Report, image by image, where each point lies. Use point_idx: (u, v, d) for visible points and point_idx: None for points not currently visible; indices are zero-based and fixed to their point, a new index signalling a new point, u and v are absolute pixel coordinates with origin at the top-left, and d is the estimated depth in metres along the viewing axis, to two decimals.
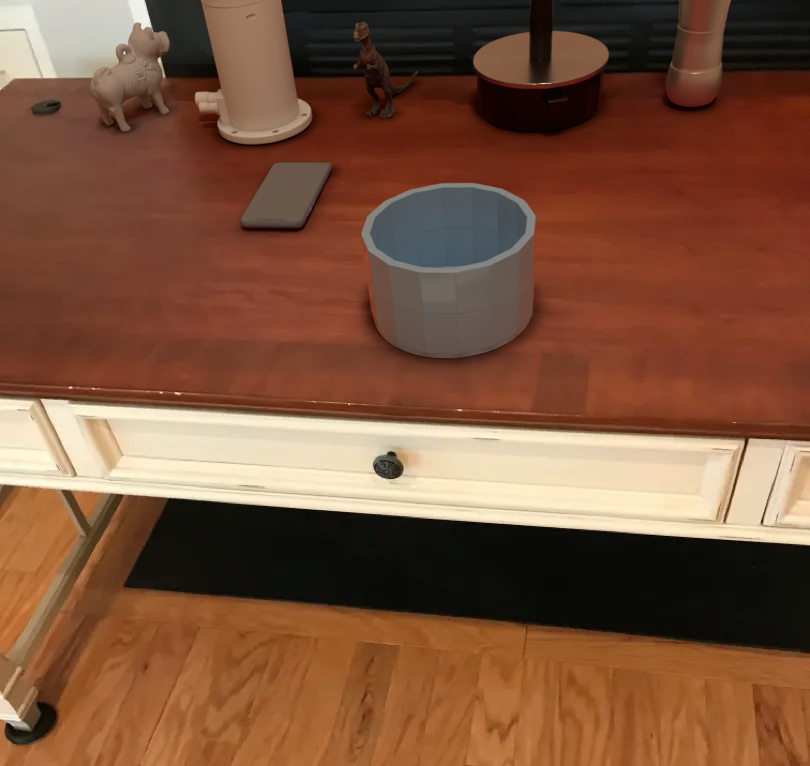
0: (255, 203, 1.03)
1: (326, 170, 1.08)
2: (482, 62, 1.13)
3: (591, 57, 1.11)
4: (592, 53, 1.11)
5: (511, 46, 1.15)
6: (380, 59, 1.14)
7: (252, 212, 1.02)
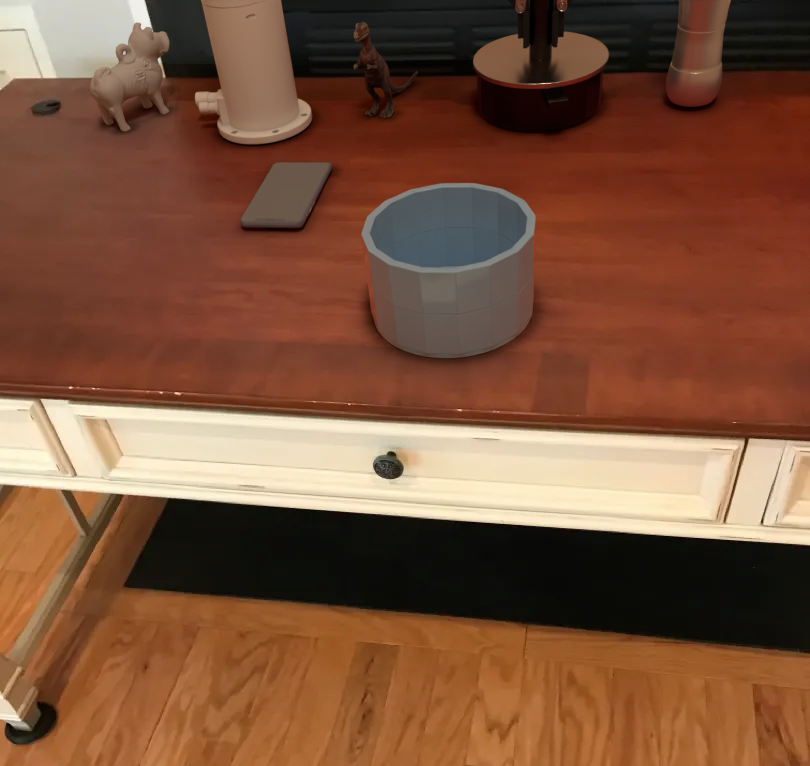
0: (255, 203, 1.03)
1: (326, 170, 1.08)
2: (482, 62, 1.13)
3: (591, 57, 1.11)
4: (592, 53, 1.11)
5: (511, 46, 1.15)
6: (380, 59, 1.14)
7: (252, 212, 1.02)
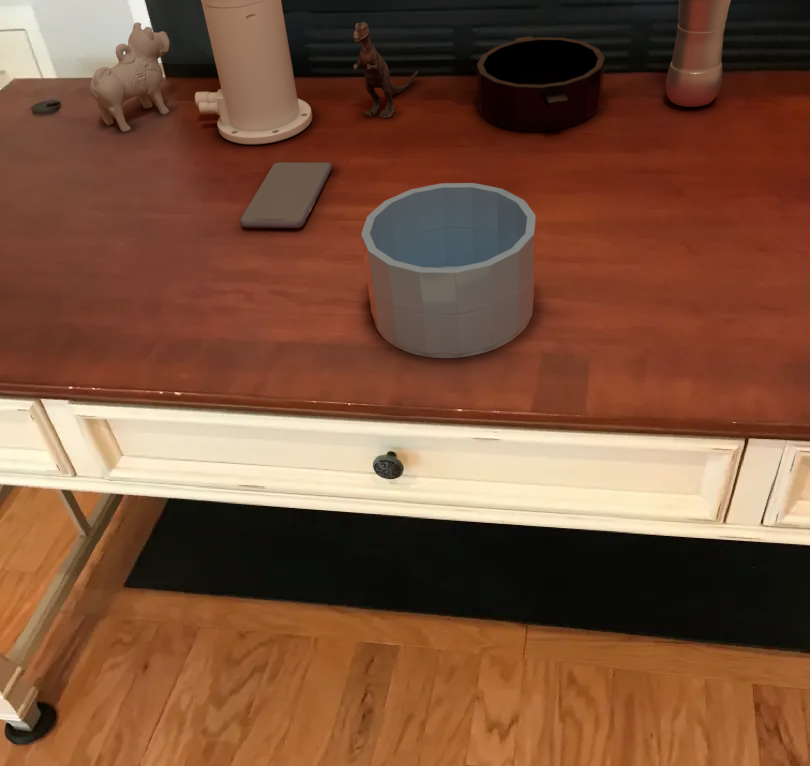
0: (255, 203, 1.03)
1: (326, 170, 1.08)
2: None
3: None
4: None
5: None
6: (380, 59, 1.14)
7: (252, 212, 1.02)
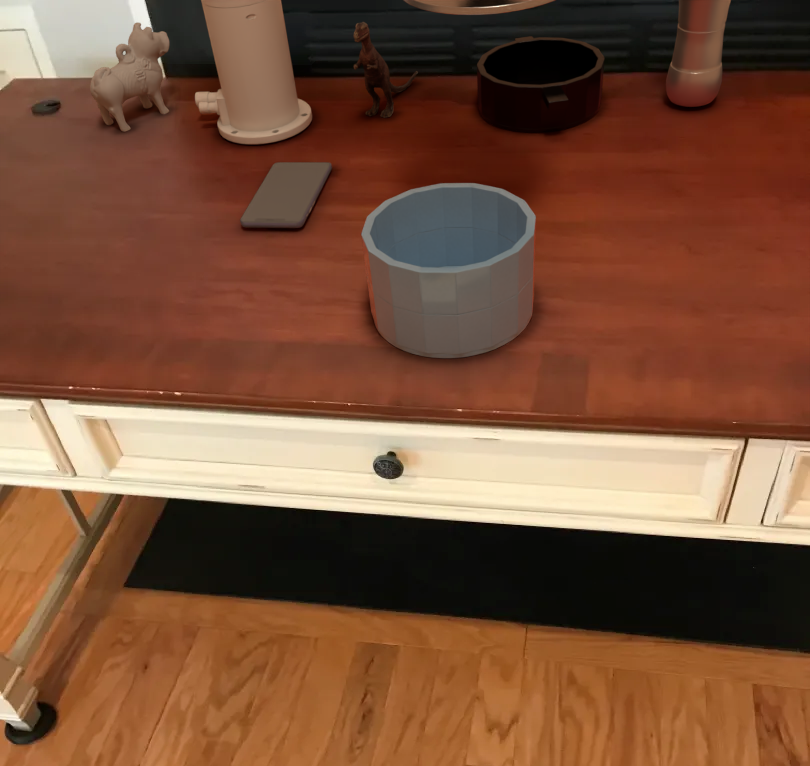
0: (255, 203, 1.03)
1: (326, 170, 1.08)
2: None
3: None
4: None
5: None
6: (380, 59, 1.14)
7: (252, 212, 1.02)
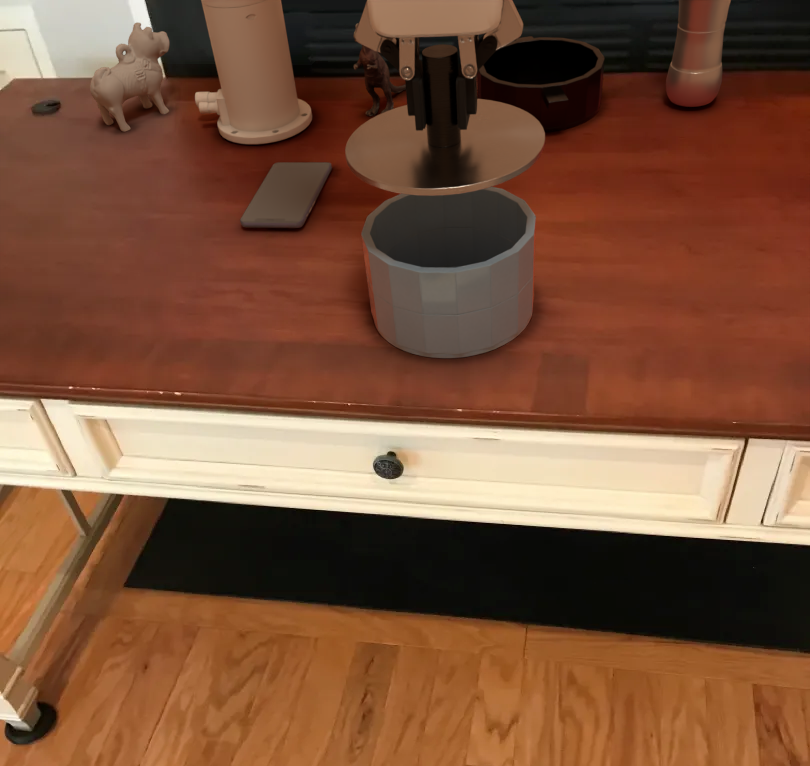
0: (255, 203, 1.03)
1: (326, 170, 1.08)
2: (358, 149, 0.76)
3: (518, 143, 0.74)
4: (521, 137, 0.75)
5: (404, 122, 0.78)
6: (380, 59, 1.14)
7: (252, 212, 1.02)
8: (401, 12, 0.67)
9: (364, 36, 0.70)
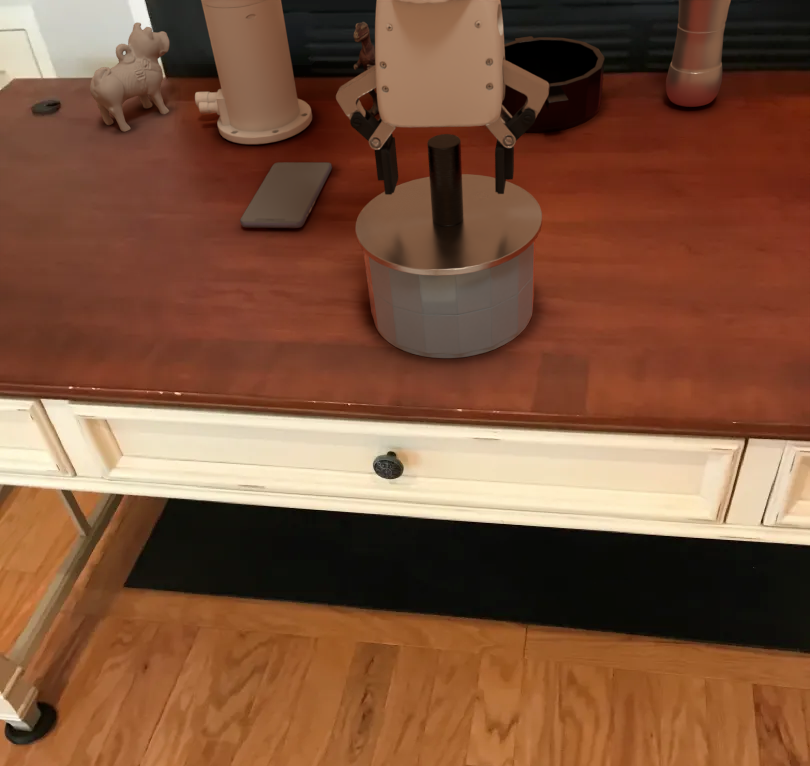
0: (255, 203, 1.03)
1: (326, 170, 1.08)
2: (367, 227, 0.81)
3: (517, 223, 0.79)
4: (520, 217, 0.80)
5: (411, 199, 0.84)
6: None
7: (252, 212, 1.02)
8: (408, 106, 0.72)
9: (344, 98, 0.74)
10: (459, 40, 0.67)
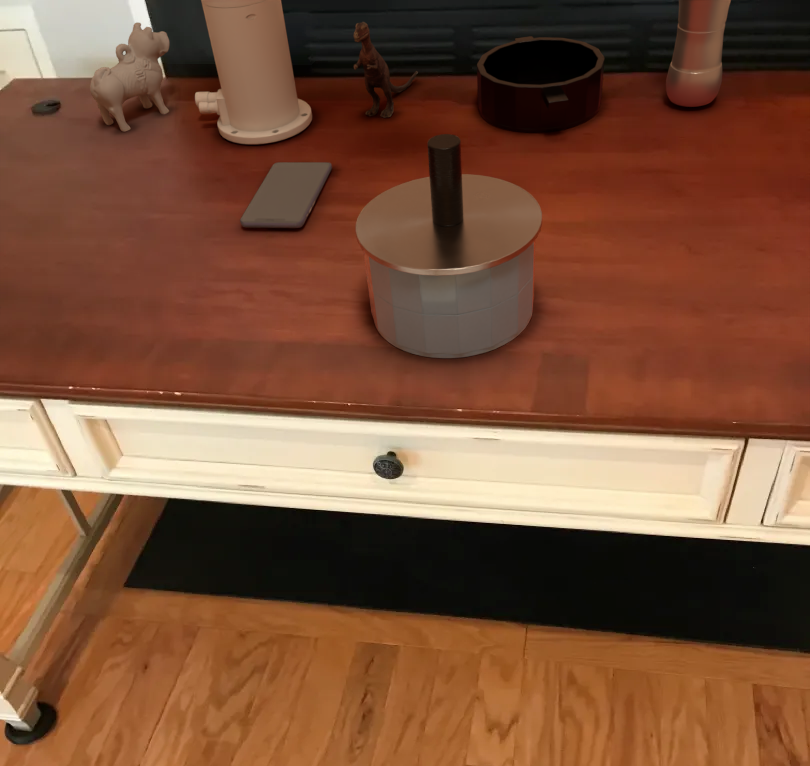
0: (255, 203, 1.03)
1: (326, 170, 1.08)
2: (367, 227, 0.81)
3: (517, 223, 0.79)
4: (520, 217, 0.80)
5: (411, 199, 0.84)
6: (380, 59, 1.14)
7: (252, 212, 1.02)
8: None
9: None
10: None
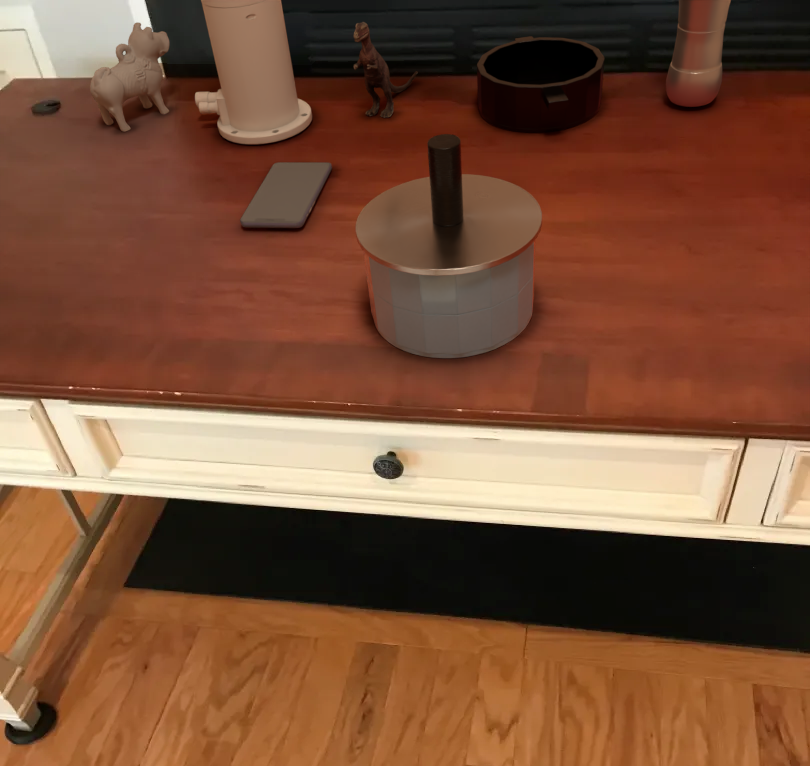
0: (255, 203, 1.03)
1: (326, 170, 1.08)
2: (367, 227, 0.81)
3: (517, 223, 0.79)
4: (520, 217, 0.80)
5: (411, 199, 0.84)
6: (380, 59, 1.14)
7: (252, 212, 1.02)
8: None
9: None
10: None
